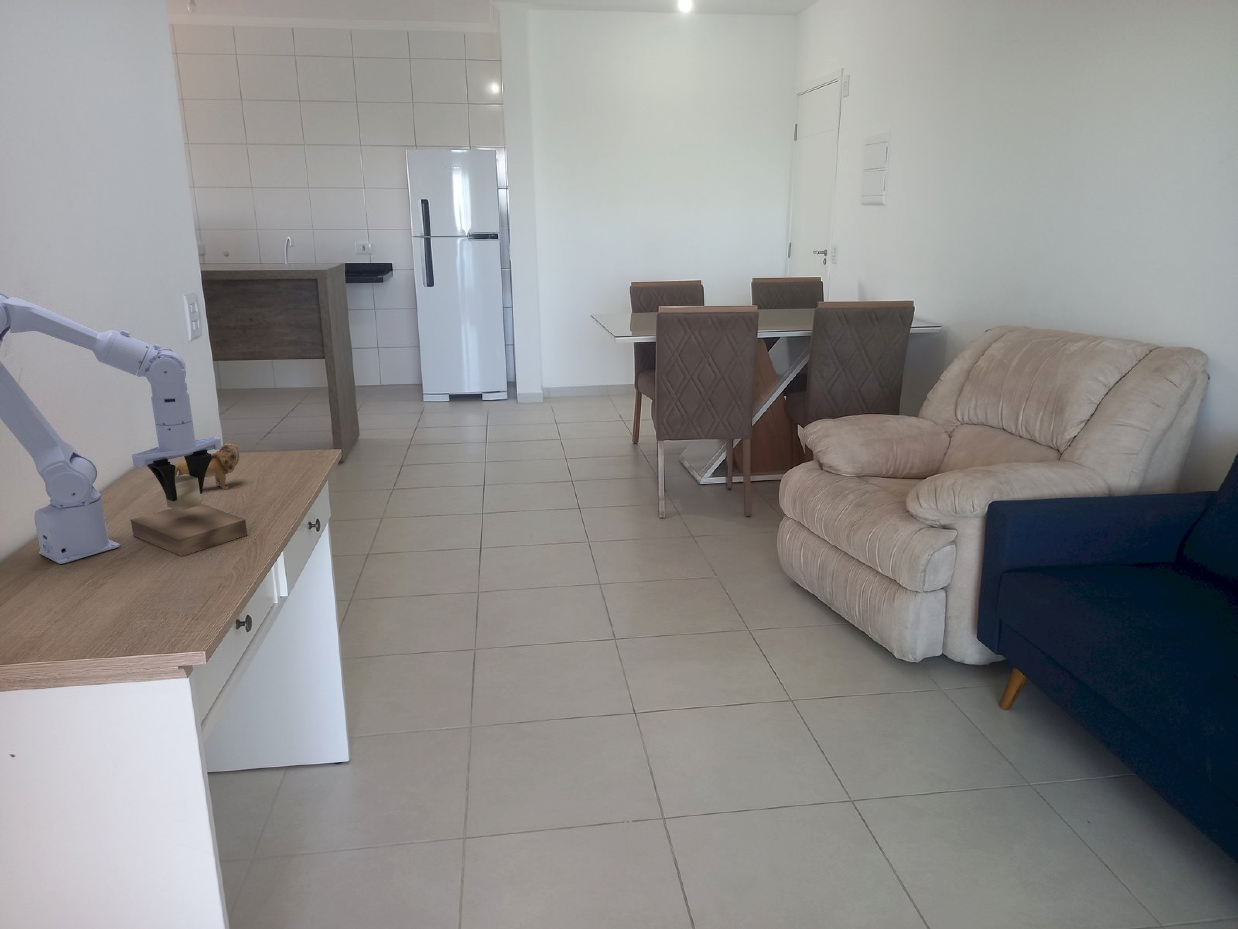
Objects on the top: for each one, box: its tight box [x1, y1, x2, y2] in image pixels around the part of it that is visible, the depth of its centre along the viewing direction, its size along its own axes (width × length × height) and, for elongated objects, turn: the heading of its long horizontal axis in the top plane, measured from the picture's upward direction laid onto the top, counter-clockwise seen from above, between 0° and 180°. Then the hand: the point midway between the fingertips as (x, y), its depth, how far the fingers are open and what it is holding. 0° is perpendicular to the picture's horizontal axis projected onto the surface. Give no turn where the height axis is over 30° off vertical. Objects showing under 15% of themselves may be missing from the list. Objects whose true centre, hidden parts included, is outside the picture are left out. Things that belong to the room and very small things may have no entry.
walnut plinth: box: [130, 503, 248, 557], centre depth 148 cm, size 12×16×3 cm
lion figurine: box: [175, 443, 240, 490], centre depth 172 cm, size 15×5×9 cm, turn 131°
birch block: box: [165, 474, 203, 511], centre depth 147 cm, size 4×4×5 cm
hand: (185, 496), depth 147 cm, fingers closed on birch block, 4 cm apart
